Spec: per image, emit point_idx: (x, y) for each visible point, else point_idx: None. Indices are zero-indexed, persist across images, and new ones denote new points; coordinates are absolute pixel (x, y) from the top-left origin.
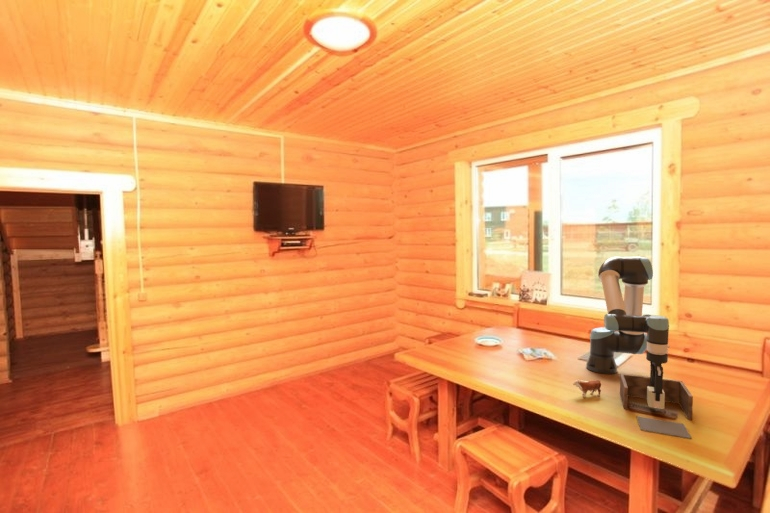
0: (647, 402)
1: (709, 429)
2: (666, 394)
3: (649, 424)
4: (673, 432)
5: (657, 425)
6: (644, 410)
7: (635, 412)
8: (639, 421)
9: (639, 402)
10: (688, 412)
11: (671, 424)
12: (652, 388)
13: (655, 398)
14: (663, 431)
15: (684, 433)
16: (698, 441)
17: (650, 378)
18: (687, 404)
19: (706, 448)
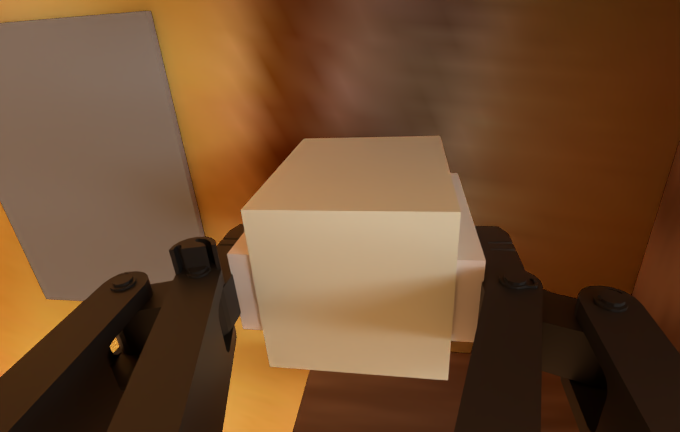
0: (389, 139)
1: (238, 396)
2: (671, 340)
3: (52, 102)
4: (45, 230)
5: (77, 155)
6: (341, 93)
7: (249, 5)
8: (48, 28)
9: (541, 65)
10: (310, 382)
11: (159, 242)
12: (379, 269)
13: None
14: (13, 177)
15: (77, 281)
16: (52, 317)
17: (639, 356)
18: (338, 428)
19: (4, 328)
